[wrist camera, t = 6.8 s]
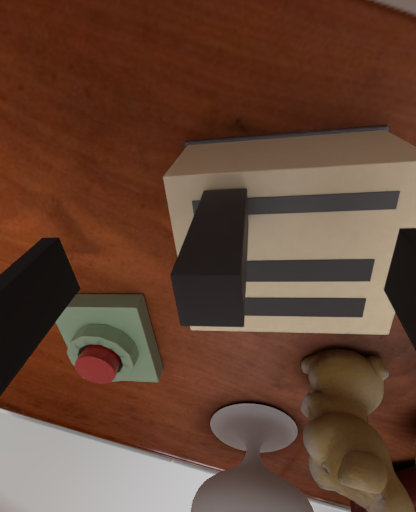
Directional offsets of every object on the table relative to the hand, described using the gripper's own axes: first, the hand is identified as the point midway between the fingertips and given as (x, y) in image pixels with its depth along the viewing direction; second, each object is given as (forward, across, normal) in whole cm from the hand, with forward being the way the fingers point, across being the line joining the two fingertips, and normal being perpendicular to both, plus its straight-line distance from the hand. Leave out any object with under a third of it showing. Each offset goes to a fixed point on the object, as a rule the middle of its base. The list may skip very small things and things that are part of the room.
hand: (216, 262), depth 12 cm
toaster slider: (+6, 0, 0) cm, 6 cm away
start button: (+10, -16, -19) cm, 27 cm away
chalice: (+14, 0, -38) cm, 40 cm away
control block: (+14, -16, -20) cm, 29 cm away
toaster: (+14, +3, -4) cm, 15 cm away
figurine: (+14, +9, -24) cm, 29 cm away
